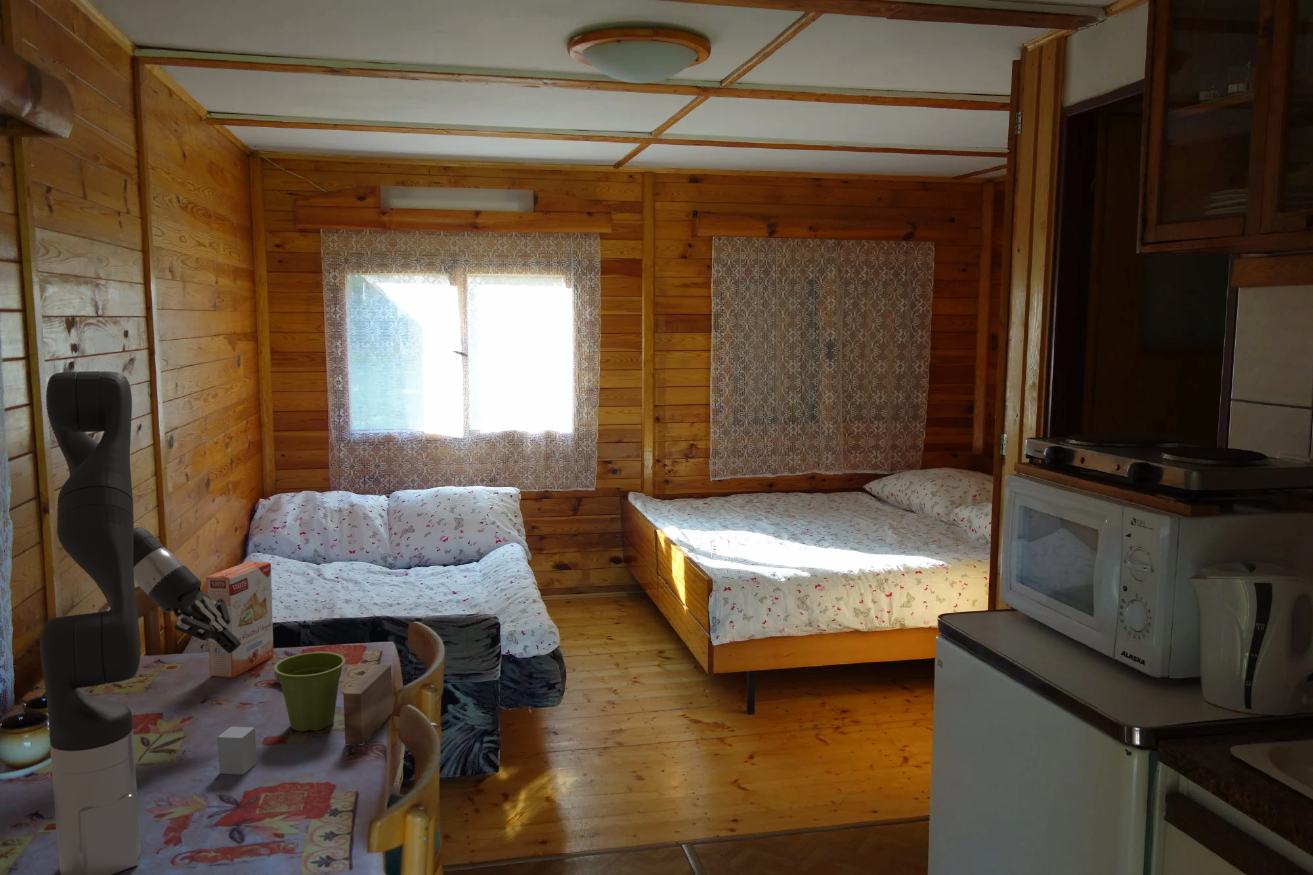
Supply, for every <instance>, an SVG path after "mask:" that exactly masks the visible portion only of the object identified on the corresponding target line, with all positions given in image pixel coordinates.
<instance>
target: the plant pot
mask: <svg viewBox="0 0 1313 875" xmlns="http://www.w3.org/2000/svg"><path fill="white" fill-rule="evenodd" d="M345 664H346V658H345V657H344V655H341V654H339V653H336V652H330V651H329V652H328V651H316V652H313V651H312V652H307V653H306V652H305V653H300V654H295V655H291V656H289V657H285V658H283V659H281V660H279V661H278V662H277V663H276V665H275V664H274V666H273V671H274V673H275V672H276V673H277V674H278V677H279V681H280V682H279V684H280V685H281V688H282V693H283V697H284V703H285V705H286V711H287V715H288V720H289V724H290V728H291V729H293V730H294V731H297V732H307V731H314V732H315V731H320V730H323V729H325V728H328V727H330V726H331V725H332V724H333V722H334V720H335V714H336V707H337V699H338V691H339V683H340V678H341V675H342V668H343V666H344V665H345Z"/></svg>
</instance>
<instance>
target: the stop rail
mask: <svg viewBox="0 0 1313 875" xmlns="http://www.w3.org/2000/svg"><path fill="white" fill-rule="evenodd" d="M392 680H393V679H392V664H380V663H379V664H377V663H376V664H374V665H373V666H372V667H371V668H370V669H369V670H366V672H365V673H364V674H363V675H362V676H361V677H359V679H357V680H356V681H355V682H354V683H353V684H352V685H351V686H350V687H348V689H346V690H345V691H344V692H343V695H342V696H343V697H342V698H343V718H344V741H345V742H344V744H363V743H364V742H365V741H366V740H367V739H368V738H369V737H370V736H371V735H372V734H373V735H374V733H375V732H377V730H378V729H379V728H380V727H381V726H382V725H383V723H385V721H386V720H388V719H389V717H390V716H391V715H392V714H393V712H394V711H393V710H394V709H393V707H394V706H393V684H392ZM373 732H374V733H373ZM373 735H372V736H373ZM372 736H371V737H372ZM371 737H370V738H371ZM370 738H369V739H370ZM369 739H368V740H369ZM368 740H367V741H368ZM367 741H366V742H367ZM366 742H365V743H366ZM365 743H364V744H365ZM364 744H363V745H364Z"/></svg>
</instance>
